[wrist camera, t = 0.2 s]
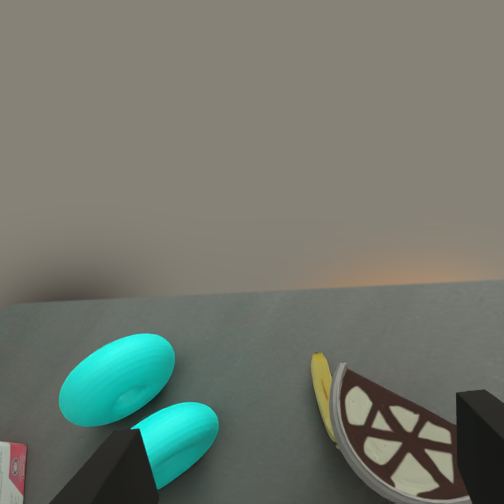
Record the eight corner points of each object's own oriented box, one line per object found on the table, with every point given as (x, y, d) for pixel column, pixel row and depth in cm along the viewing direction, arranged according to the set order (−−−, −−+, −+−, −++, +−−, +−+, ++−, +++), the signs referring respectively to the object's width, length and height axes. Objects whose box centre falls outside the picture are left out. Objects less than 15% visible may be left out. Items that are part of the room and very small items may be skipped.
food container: (305, 451, 39) (294, 442, 30) (338, 385, 41) (337, 358, 32) (453, 542, 34) (492, 562, 26) (482, 464, 36) (528, 457, 28)
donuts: (178, 345, 45) (139, 311, 36) (236, 434, 40) (208, 420, 32) (90, 410, 43) (26, 391, 35) (140, 510, 39) (82, 518, 30)
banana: (352, 450, 38) (353, 447, 35) (331, 456, 38) (331, 453, 35) (324, 355, 42) (323, 343, 39) (305, 360, 42) (302, 348, 39)
